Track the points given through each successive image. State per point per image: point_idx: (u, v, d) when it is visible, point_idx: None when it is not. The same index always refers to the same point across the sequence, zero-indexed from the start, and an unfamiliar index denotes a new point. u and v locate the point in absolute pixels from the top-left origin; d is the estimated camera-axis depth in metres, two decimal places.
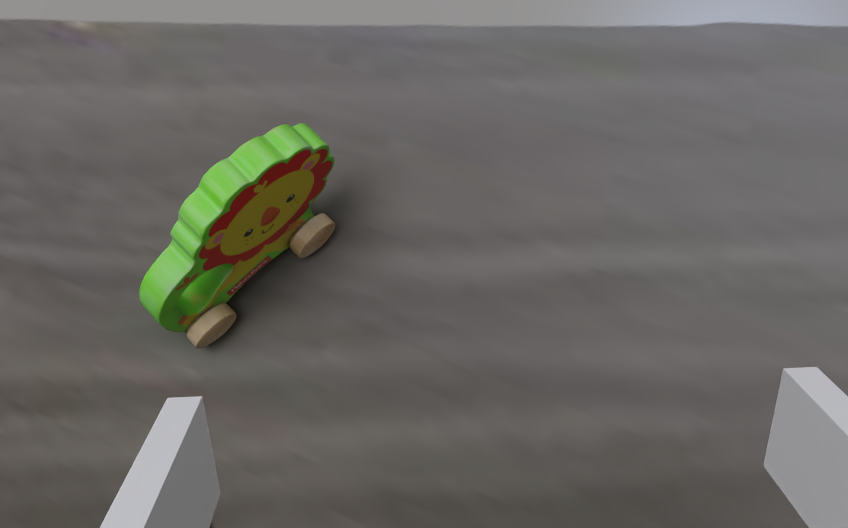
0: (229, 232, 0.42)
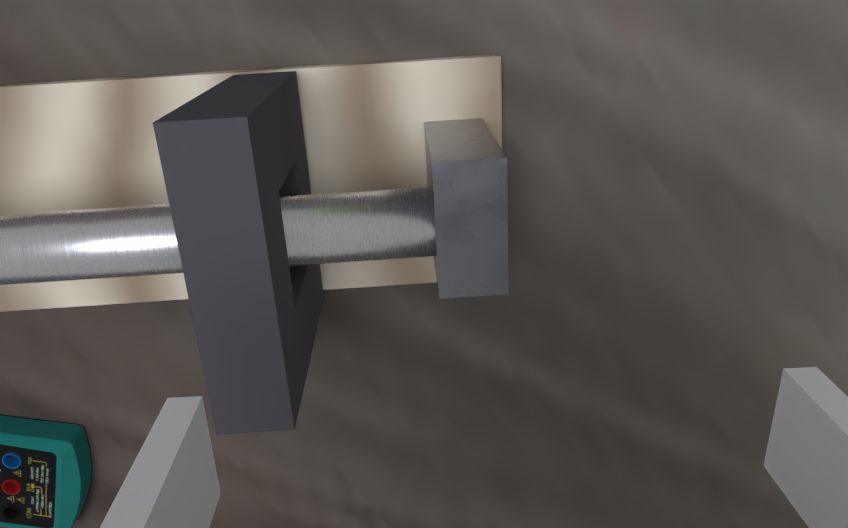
0: None
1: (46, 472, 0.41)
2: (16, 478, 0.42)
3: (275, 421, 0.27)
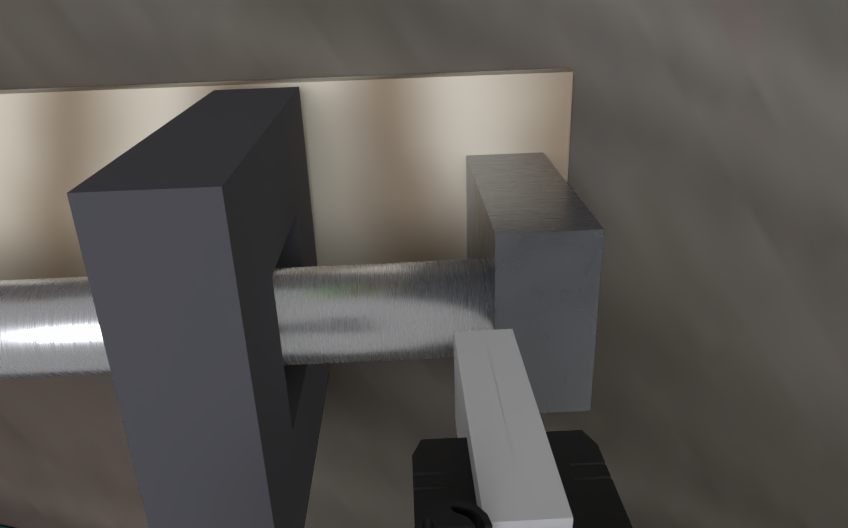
0: None
1: None
2: None
3: None
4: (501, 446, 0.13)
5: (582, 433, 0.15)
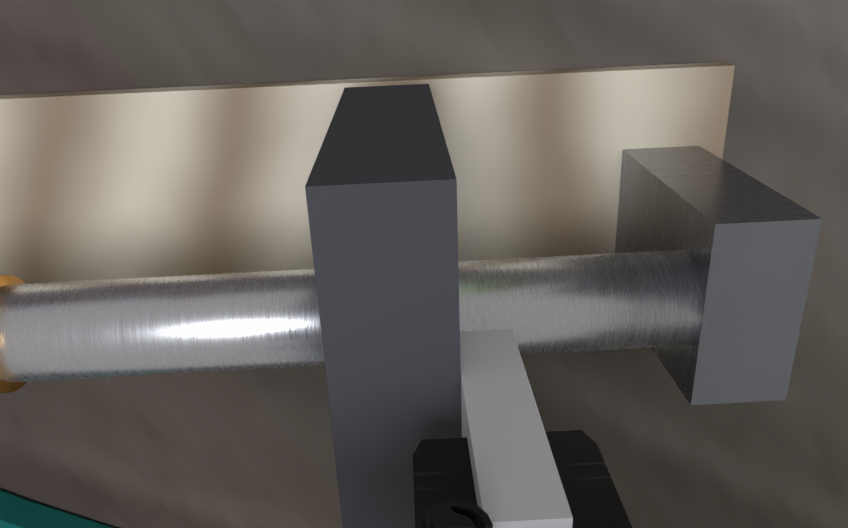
0: None
1: None
2: None
3: None
4: (501, 446, 0.13)
5: (582, 433, 0.15)
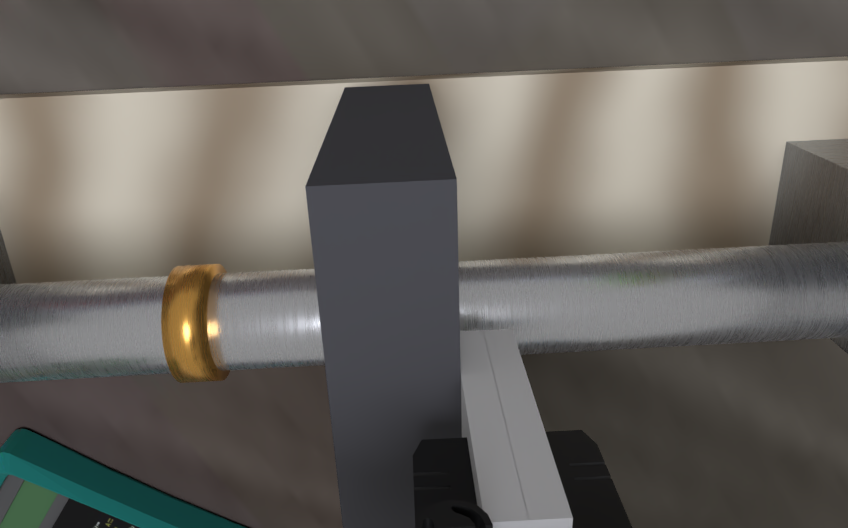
0: None
1: None
2: None
3: None
4: (501, 446, 0.13)
5: (582, 433, 0.15)
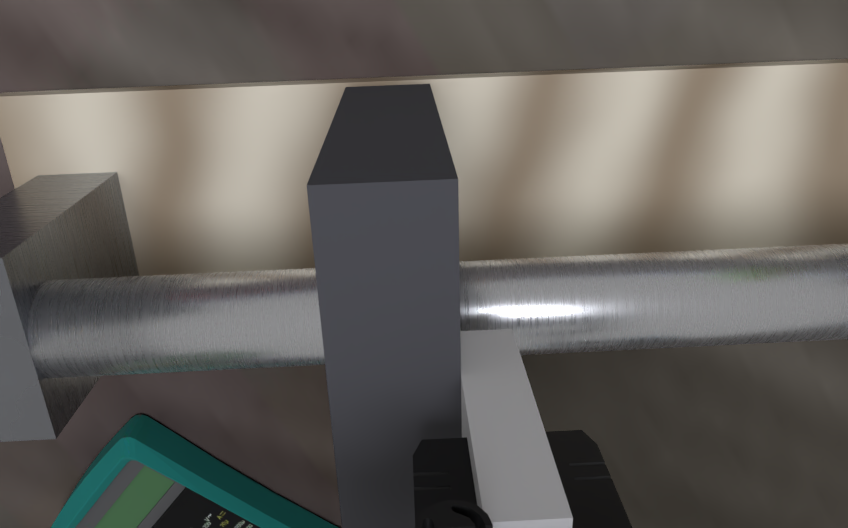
0: None
1: None
2: None
3: None
4: (501, 446, 0.13)
5: (582, 433, 0.15)
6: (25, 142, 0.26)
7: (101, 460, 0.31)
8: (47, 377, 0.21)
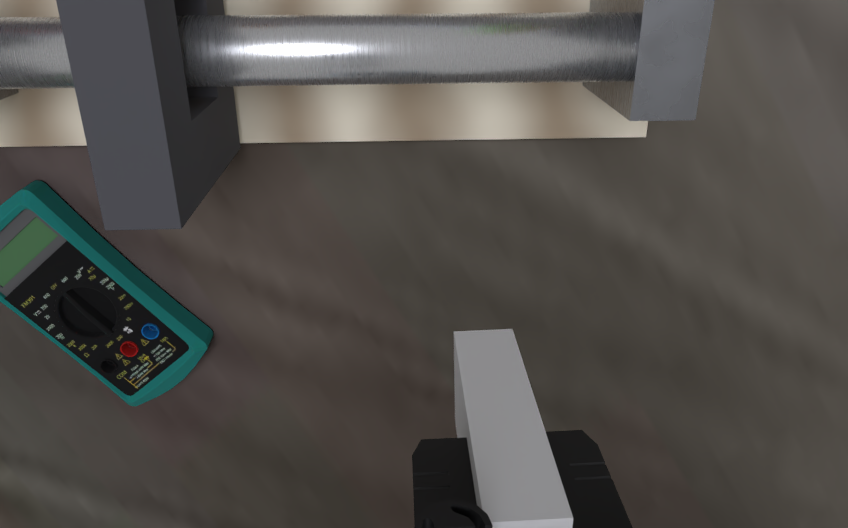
0: None
1: (168, 356, 0.44)
2: (139, 345, 0.44)
3: (162, 219, 0.28)
4: (501, 446, 0.13)
5: (582, 433, 0.15)
6: None
7: (2, 205, 0.40)
8: None
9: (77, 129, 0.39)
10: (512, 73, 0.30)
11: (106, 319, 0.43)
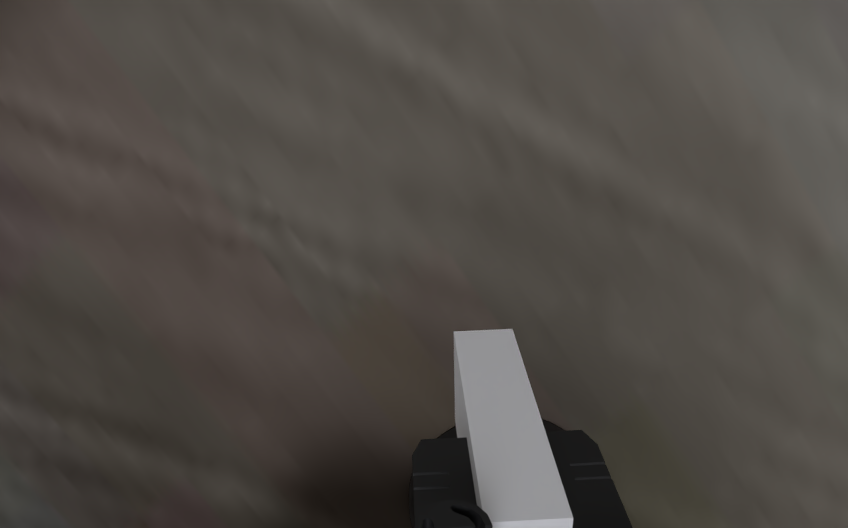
0: None
1: None
2: None
3: None
4: (501, 446, 0.13)
5: (582, 433, 0.15)
6: None
7: None
8: None
9: None
10: None
11: None
